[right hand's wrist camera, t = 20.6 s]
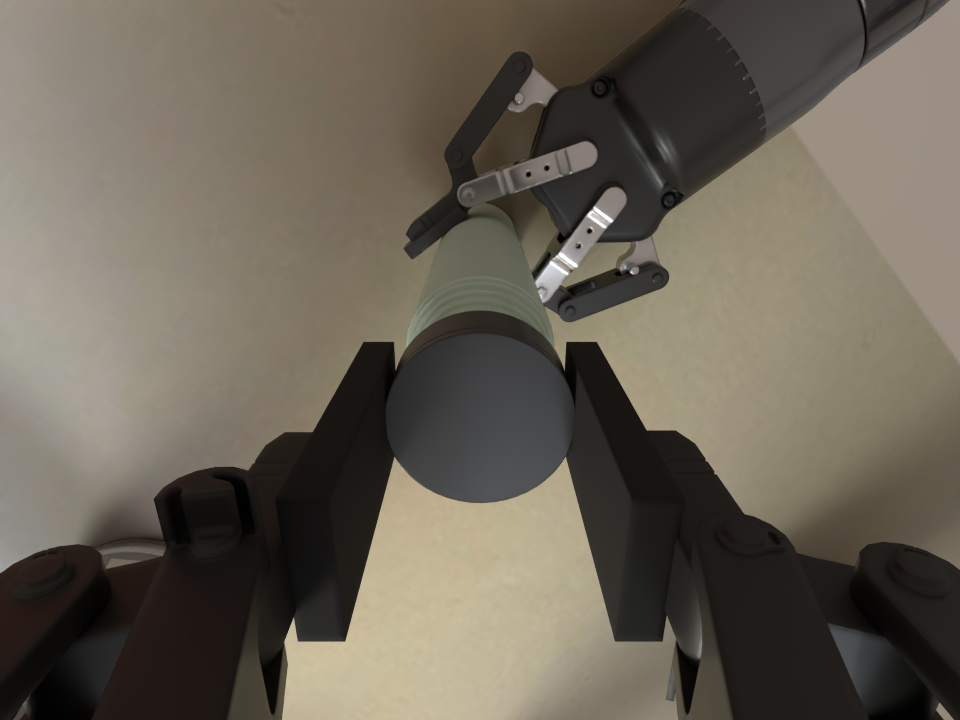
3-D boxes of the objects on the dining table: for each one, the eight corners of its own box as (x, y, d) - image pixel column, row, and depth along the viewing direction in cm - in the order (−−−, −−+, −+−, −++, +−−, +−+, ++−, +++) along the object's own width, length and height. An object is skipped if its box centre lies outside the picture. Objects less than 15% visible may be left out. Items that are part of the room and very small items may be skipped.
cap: (412, 291, 13) (403, 312, 12) (588, 331, 14) (602, 357, 12) (381, 447, 15) (369, 483, 13) (538, 479, 15) (545, 519, 14)
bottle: (475, 289, 37) (468, 520, 15) (429, 234, 35) (344, 398, 13) (530, 244, 36) (613, 421, 13) (484, 186, 34) (494, 278, 12)
